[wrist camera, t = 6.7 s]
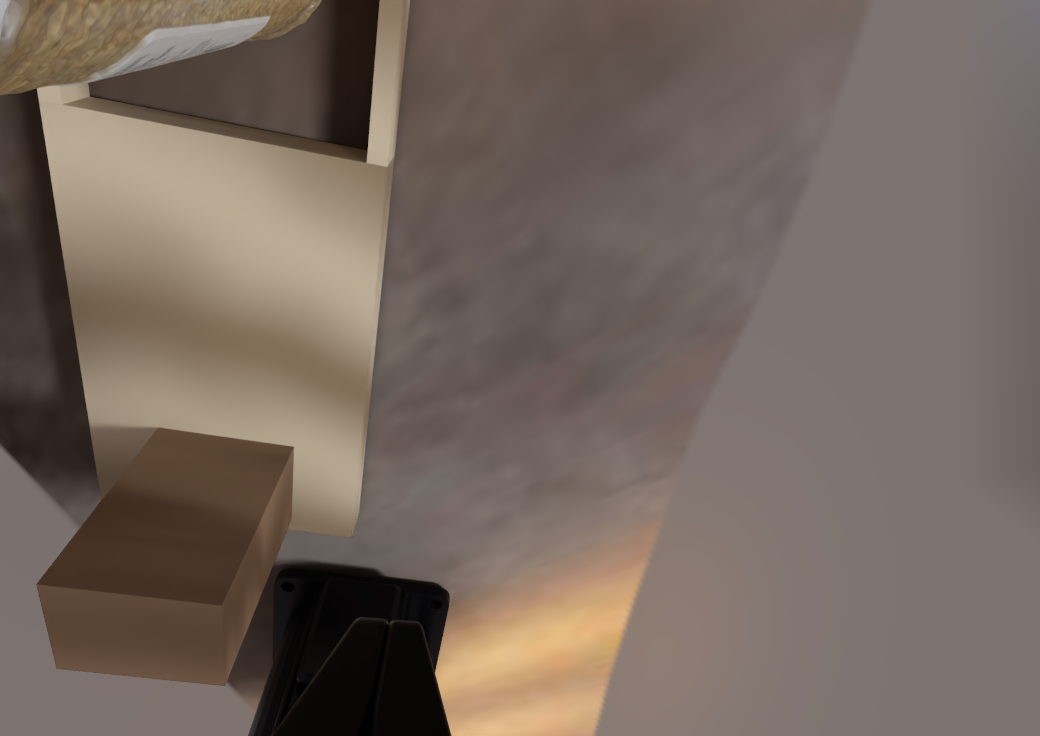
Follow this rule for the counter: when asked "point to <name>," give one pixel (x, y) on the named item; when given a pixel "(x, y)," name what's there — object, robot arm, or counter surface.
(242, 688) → the counter surface
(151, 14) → the sprinkles bottle
